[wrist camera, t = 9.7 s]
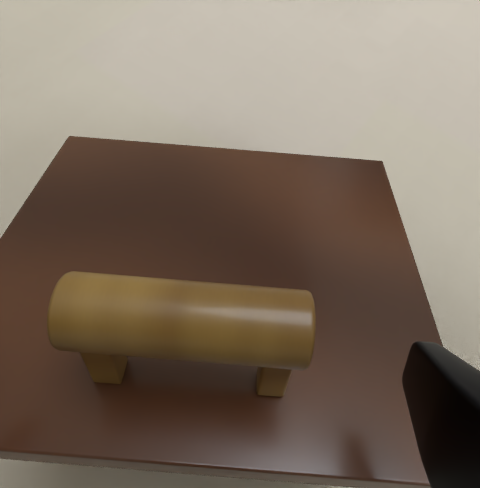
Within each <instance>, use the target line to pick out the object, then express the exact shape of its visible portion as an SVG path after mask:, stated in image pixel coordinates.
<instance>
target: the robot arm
mask: <svg viewBox="0 0 480 488" xmlns="http://www.w3.org/2000/svg"><path fill="white" fill-rule="evenodd" d="M402 385H403V389H404V393H405V397H406V401H407V405H408V409H409V413H410V417H411V421H412V425H413V429H414V433H415V437H416V441H417V445H418V449H419V453H420V456H421V460H422V463H423V466H424V469H425V472H426V475H427V478H428V481H429V483H430V486H431V488H480V371H479V370H477V369H475V368H474V367H472V366H471V365H469V364H468V363H466V362H465V361H463V360H462V359H460V358H459V357H457V356H456V355H454V354H453V353H451V352H450V351H448V350H447V349H445V348H444V347H442V346H441V345H439V344H437V343H434V342H423V341H416V342H414V343H413V344H412V346H411V348H410V351H409V355H408V358H407V361H406V364H405V368H404V371H403V375H402Z"/></svg>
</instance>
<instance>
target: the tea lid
mask: <svg viewBox="0 0 480 488" xmlns="http://www.w3.org/2000/svg"><path fill="white" fill-rule="evenodd" d="M416 341H423V342H434V343H437V344H439V345H441V346H442V347H443V345H442V342H441V339H440V336H439V333H438V330H437V327H436V324H435V321H434V318H433V315H432V312H431V309H430V305H429V302H428V299H427V296H426V293H425V290H424V287H423V284H422V281H421V278H420V275H419V272H418V269H417V266H416V263H415V260H414V256H413V253H412V250H411V247H410V244H409V241H408V238H407V235H406V232H405V229H404V226H403V223H402V220H401V217H400V214H399V211H398V207H397V204H396V201H395V198H394V195H393V192H392V189H391V186H390V183H389V180H388V177H387V174H386V171H385V168H384V165H383V162H382V161H375V160H363V159H350V158H338V157H325V156H313V155H300V154H288V153H275V152H263V151H250V150H238V149H225V148H213V147H200V146H188V145H175V144H163V143H150V142H138V141H125V140H113V139H100V138H88V137H75V136H69V137H68V138H67V140H66V141H65V143H64V144H63V146H62V147H61V149H60V150H59V152H58V153H57V155H56V156H55V158H54V159H53V161H52V162H51V164H50V165H49V167H48V168H47V170H46V171H45V173H44V174H43V176H42V177H41V179H40V180H39V182H38V183H37V185H36V186H35V188H34V189H33V191H32V192H31V194H30V195H29V197H28V198H27V200H26V201H25V203H24V204H23V206H22V207H21V209H20V210H19V212H18V213H17V215H16V216H15V218H14V219H13V221H12V222H11V224H10V225H9V226H8V228H7V229H6V231H5V232H4V234H3V235H2V237H1V238H0V459H11V460H23V461H36V462H48V463H60V464H72V465H85V466H97V467H109V468H122V469H134V470H146V471H158V472H171V473H183V474H195V475H208V476H220V477H232V478H244V479H257V480H269V481H281V482H294V483H306V484H318V485H330V486H343V487H355V488H431V486H430V483H429V481H428V478H427V475H426V472H425V469H424V466H423V463H422V460H421V456H420V453H419V449H418V445H417V441H416V437H415V433H414V429H413V425H412V421H411V417H410V413H409V409H408V405H407V401H406V397H405V393H404V389H403V385H402V375H403V371H404V368H405V364H406V361H407V358H408V355H409V351H410V348H411V346H412V344H413V343H414V342H416Z"/></svg>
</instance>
